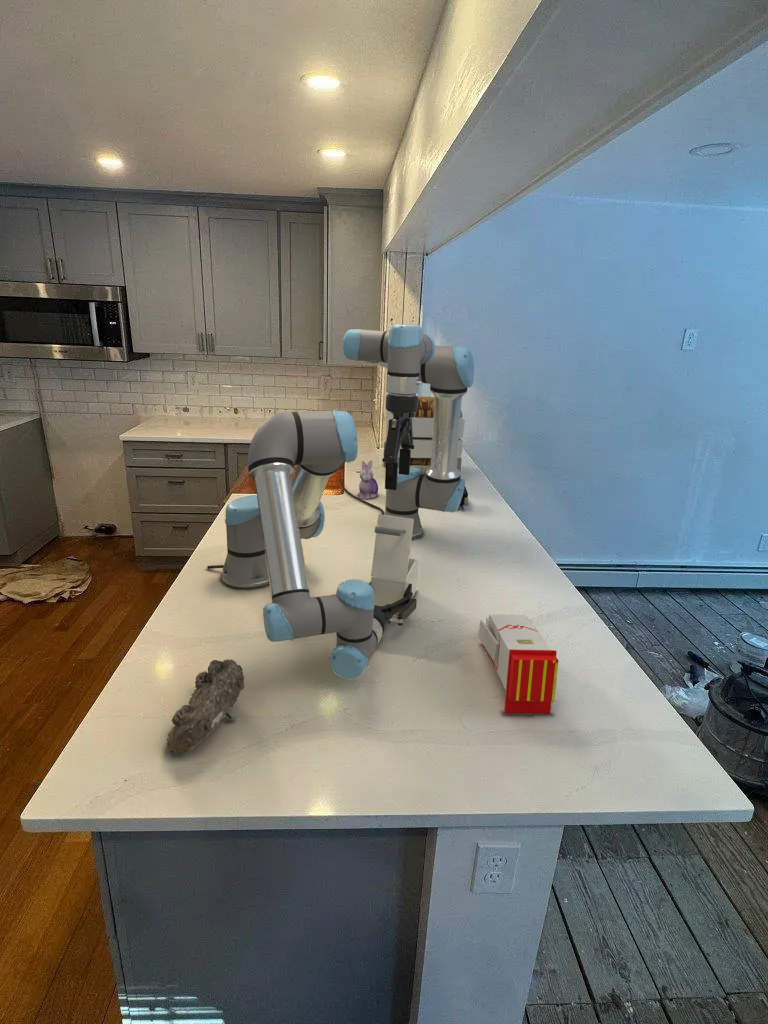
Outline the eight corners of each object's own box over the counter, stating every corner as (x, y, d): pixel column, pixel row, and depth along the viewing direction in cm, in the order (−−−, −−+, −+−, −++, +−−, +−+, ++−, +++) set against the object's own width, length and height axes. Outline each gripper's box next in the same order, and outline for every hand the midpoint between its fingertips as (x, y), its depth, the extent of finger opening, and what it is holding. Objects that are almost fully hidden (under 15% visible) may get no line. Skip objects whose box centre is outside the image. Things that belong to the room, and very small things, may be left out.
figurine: (363, 500, 232) (364, 465, 227) (352, 493, 240) (353, 459, 235) (383, 498, 236) (385, 463, 231) (372, 491, 244) (373, 457, 239)
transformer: (382, 463, 289) (386, 382, 275) (445, 464, 293) (451, 384, 279) (390, 482, 257) (394, 392, 243) (460, 483, 261) (468, 394, 247)
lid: (379, 514, 144) (370, 515, 136) (414, 519, 142) (407, 520, 134) (371, 575, 145) (362, 580, 137) (406, 581, 143) (399, 586, 135)
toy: (524, 600, 137) (567, 656, 108) (520, 651, 140) (560, 720, 111) (474, 599, 137) (504, 655, 107) (471, 650, 140) (498, 719, 110)
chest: (385, 585, 162) (386, 553, 158) (416, 590, 160) (418, 558, 156) (370, 611, 148) (371, 577, 145) (403, 617, 146) (405, 583, 143)
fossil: (192, 660, 117) (244, 628, 112) (224, 691, 120) (276, 661, 115) (142, 746, 98) (202, 712, 93) (182, 779, 101) (242, 748, 96)
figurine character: (468, 514, 225) (463, 498, 239) (470, 497, 222) (465, 482, 235) (451, 514, 225) (447, 498, 238) (453, 497, 222) (449, 481, 235)
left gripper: (322, 634, 132) (352, 591, 153) (413, 651, 127) (431, 604, 148) (322, 606, 130) (352, 566, 150) (415, 622, 125) (434, 579, 145)
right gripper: (405, 403, 120) (400, 498, 127) (428, 389, 143) (422, 470, 150) (371, 400, 122) (368, 494, 129) (399, 386, 144) (395, 467, 152)
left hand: (392, 585), depth 149 cm, fingers closed on chest, 9 cm apart
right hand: (397, 481), depth 139 cm, fingers open, 13 cm apart
